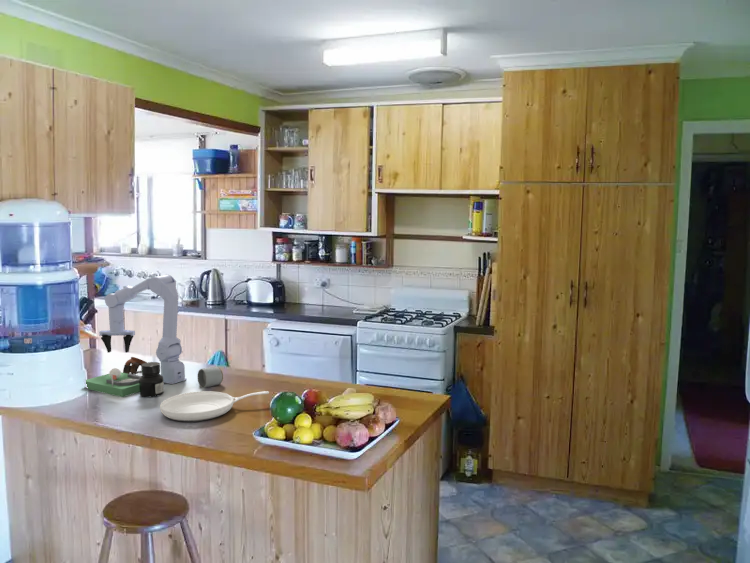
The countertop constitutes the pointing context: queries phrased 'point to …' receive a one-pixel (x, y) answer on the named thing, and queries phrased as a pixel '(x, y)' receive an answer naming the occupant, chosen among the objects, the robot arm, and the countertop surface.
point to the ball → (115, 372)
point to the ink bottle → (151, 380)
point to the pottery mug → (132, 365)
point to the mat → (115, 384)
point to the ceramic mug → (210, 377)
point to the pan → (199, 405)
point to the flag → (113, 378)
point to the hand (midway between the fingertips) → (118, 352)
